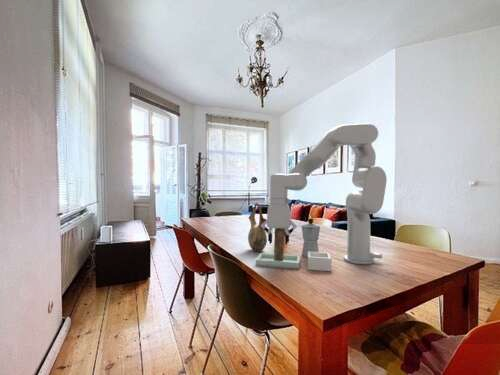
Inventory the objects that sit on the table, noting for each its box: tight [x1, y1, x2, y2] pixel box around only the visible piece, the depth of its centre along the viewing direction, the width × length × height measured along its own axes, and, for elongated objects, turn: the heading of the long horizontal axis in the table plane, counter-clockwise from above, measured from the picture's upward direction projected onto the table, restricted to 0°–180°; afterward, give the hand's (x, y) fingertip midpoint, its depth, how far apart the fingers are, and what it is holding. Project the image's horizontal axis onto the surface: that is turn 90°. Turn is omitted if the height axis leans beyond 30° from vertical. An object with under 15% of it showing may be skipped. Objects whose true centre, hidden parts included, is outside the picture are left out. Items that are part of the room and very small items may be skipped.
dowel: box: [273, 228, 285, 261], centre depth 108 cm, size 4×4×14 cm
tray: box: [255, 252, 301, 270], centre depth 108 cm, size 18×11×2 cm, turn 77°
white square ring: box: [307, 251, 332, 272], centre depth 104 cm, size 9×9×5 cm
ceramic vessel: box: [247, 202, 268, 253], centre depth 129 cm, size 16×9×25 cm, turn 27°
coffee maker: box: [301, 218, 321, 259], centre depth 121 cm, size 15×9×18 cm, turn 161°
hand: (278, 242), depth 108 cm, fingers open, 6 cm apart
